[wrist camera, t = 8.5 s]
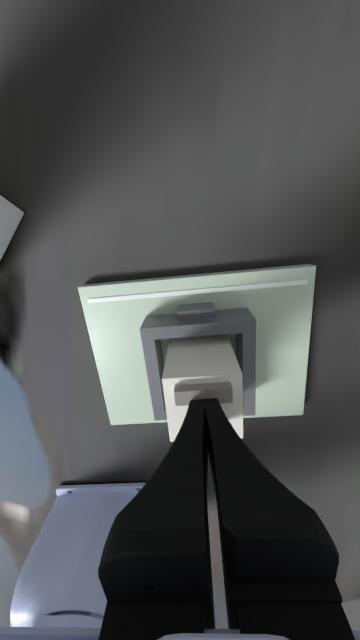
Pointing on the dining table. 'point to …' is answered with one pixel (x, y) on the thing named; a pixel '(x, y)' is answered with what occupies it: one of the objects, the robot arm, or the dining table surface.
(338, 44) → the dining table surface
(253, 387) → the board
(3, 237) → the milk
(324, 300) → the dining table surface
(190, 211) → the dining table surface
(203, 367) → the plug
